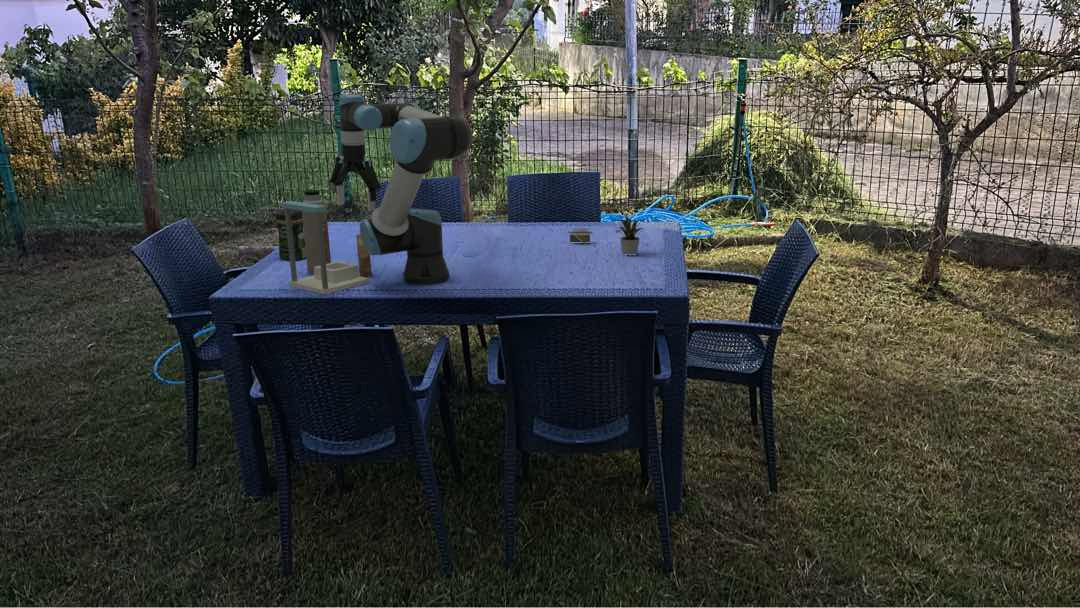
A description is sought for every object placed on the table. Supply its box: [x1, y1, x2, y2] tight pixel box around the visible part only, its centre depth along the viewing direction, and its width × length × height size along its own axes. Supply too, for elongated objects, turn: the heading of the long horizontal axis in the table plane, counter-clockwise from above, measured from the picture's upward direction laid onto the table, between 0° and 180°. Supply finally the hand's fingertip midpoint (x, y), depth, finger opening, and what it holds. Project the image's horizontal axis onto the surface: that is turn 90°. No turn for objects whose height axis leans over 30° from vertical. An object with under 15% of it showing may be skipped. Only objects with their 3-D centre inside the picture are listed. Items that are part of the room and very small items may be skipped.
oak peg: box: [356, 234, 373, 278], centre depth 259 cm, size 4×4×14 cm
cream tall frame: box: [280, 200, 370, 295], centre depth 248 cm, size 18×18×27 cm
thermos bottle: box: [302, 190, 332, 276], centre depth 263 cm, size 8×8×28 cm
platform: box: [566, 227, 593, 243], centre depth 306 cm, size 12×18×7 cm, turn 83°
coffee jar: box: [275, 208, 306, 261], centre depth 286 cm, size 10×8×19 cm
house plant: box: [612, 212, 648, 255], centre depth 285 cm, size 14×14×16 cm
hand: (356, 207), depth 260 cm, fingers open, 13 cm apart
